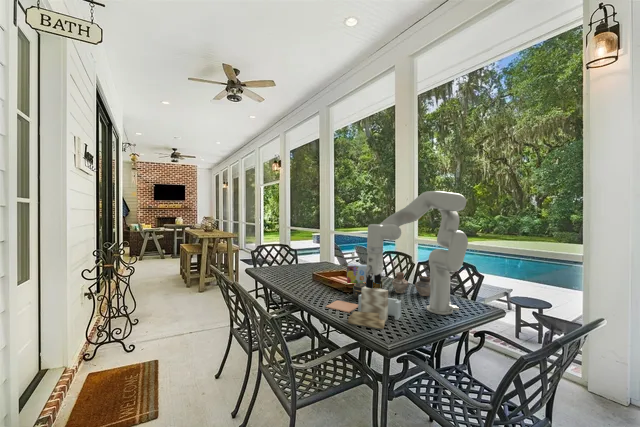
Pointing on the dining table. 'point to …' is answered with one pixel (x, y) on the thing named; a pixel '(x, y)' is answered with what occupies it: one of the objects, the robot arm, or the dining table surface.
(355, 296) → the jar
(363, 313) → the offcut top
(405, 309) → the dining table surface
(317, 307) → the dining table surface
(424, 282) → the pottery
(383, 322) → the block
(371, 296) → the cream block
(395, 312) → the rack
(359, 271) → the snack box
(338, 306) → the tile
